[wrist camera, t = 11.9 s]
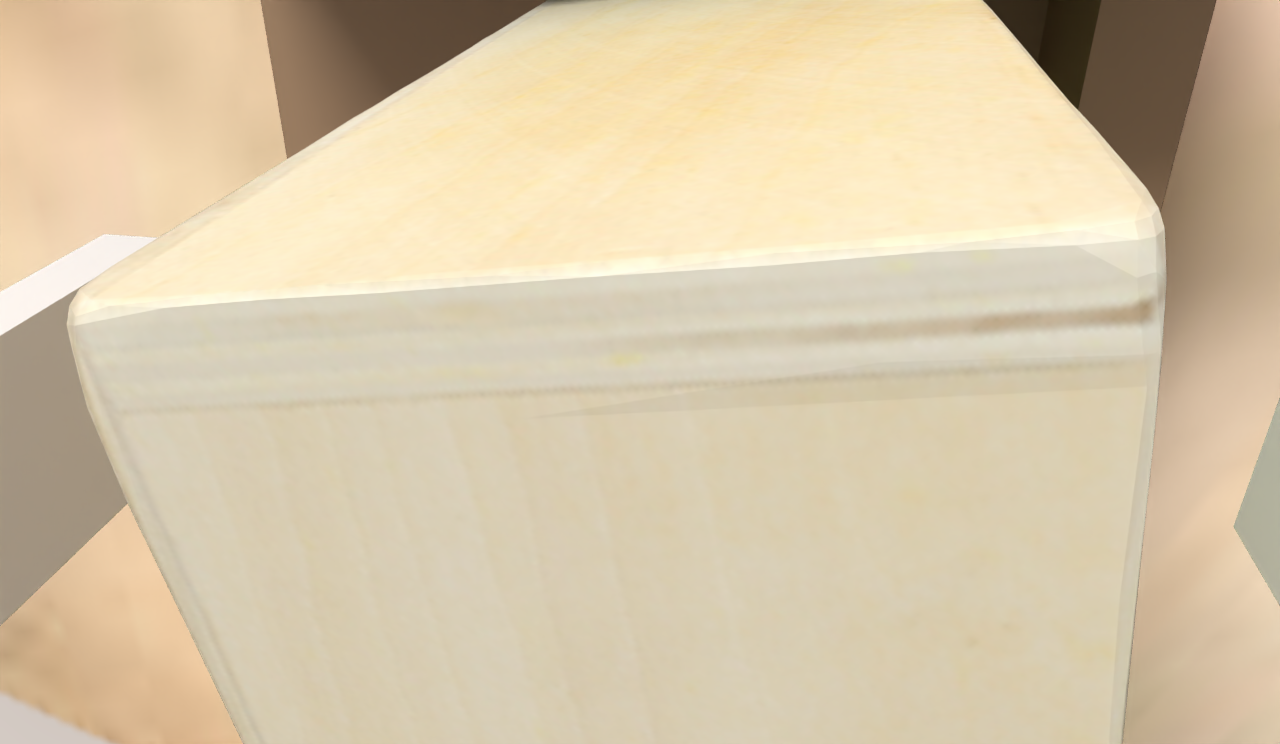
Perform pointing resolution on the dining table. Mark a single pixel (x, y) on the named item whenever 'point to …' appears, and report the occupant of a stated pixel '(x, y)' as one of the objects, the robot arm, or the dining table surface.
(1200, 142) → the dining table surface
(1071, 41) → the cleat board
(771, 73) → the toy refrigerator
